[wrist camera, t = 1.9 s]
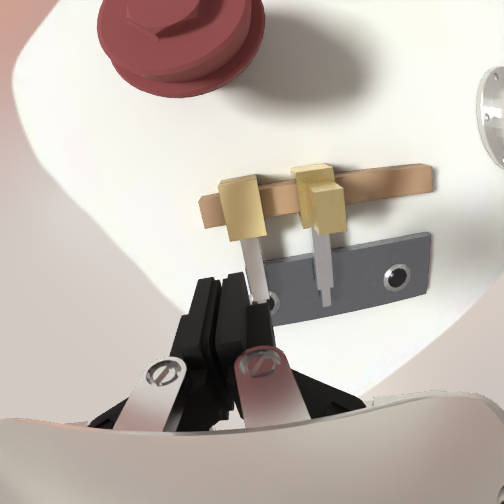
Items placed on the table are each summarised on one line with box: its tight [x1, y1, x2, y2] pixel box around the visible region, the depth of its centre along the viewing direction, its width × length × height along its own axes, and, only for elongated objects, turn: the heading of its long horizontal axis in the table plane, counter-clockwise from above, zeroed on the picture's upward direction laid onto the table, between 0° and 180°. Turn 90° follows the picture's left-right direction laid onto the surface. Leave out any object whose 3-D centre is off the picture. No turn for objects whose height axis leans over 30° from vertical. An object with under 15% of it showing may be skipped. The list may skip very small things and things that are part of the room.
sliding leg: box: [290, 163, 347, 307], centre depth 24 cm, size 3×13×7 cm, turn 11°
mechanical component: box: [97, 0, 265, 98], centre depth 16 cm, size 12×10×10 cm
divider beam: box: [198, 164, 433, 304], centre depth 26 cm, size 21×13×3 cm, turn 101°
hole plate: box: [245, 232, 431, 327], centre depth 29 cm, size 20×7×1 cm, turn 101°
